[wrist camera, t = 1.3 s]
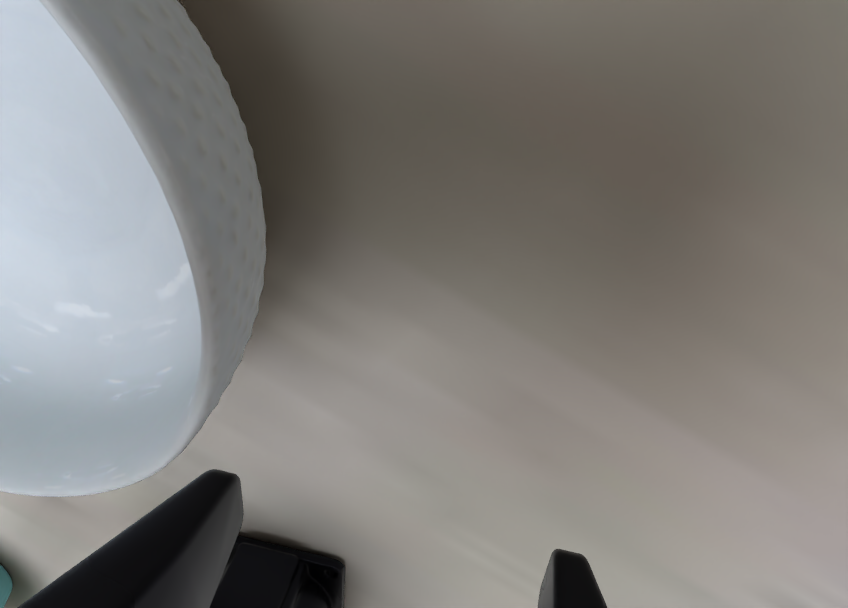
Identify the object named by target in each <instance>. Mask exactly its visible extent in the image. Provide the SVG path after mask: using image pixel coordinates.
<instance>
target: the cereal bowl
mask: <svg viewBox="0 0 848 608" xmlns="http://www.w3.org/2000/svg"><path fill="white" fill-rule="evenodd" d="M265 236H266V224H265V220H264V211H263V203H262V189H261V186H260V183H259V180H258V175H257V166H256V163H255V160H254V156H253V149H252V147H251V145H250V143H249V141H248V137H247V131H246V126H245V124H244V123H243V121H242V120H241V118H240V114H239V109H238V106H237V105H236V103H235V101H234V99H233V98H232V95H231V91H230V87H229V83H228V82H227V81H226V80H225V78H224V77H223V75H222V72H221V69H220V66H219V65H218V64H217V63H216V61H215V60H214V59H213V56H212V53H211V50H210V47H209V46H208V45H207V44H206V43H205V41H204V40H203V39H202V37H201V34H200V33H199V31H198V29H197V27H196V26H195V25H194V24H193V23H192V22H191V21H190V19H189V17H188V15H187V13H186V10H185V9H184V7H183V6H182V5H181V4H180V3H179V2H178V0H0V491H1V492H7V493H13V494H20V495H28V496H44V497H69V496H85V495H91V494H98V493H103V492H107V491H111V490H116V489H119V488H123V487H126V486H129V485H131V484H134V483H136V482H139V481H142V480H144V479H146V478H148V477H149V476H151V475H153V474H155V473H157V472H158V471H160V470H161V469H163V468H164V467H165V466H166V465H168V464H169V463H170V462H171V461H172V460H174V459H175V458H176V457H177V456H178V455H179V454H180V453H181V452H182V451H183V450H184V449H185V448H186V447H187V445H188V444H189V443H190V441H191V440H192V439H193V438H194V436H195V435H196V434H197V433H198V431H199V430H200V429H201V428H202V426H203V424H204V422H205V421H206V419H207V417H208V416H209V414H210V413H211V412H212V410H213V409H214V408H215V407H216V406H217V405H218V403H219V400H220V397H221V395H222V393H223V392H224V390H225V389H226V388H227V386H228V385H229V383H230V381H231V379H232V376H233V373H234V371H235V370H236V368H237V367H238V365H239V364H240V362H241V361H242V357H243V353H244V348H245V346H246V344H247V342H248V341H249V339H250V337H251V335H252V326H253V323H254V320H255V318H256V316H257V314H258V312H259V298H260V295H261V292H262V289H263V286H264V267H265V262H266V253H267V252H266V244H265Z"/></svg>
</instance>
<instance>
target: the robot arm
mask: <svg viewBox="0 0 848 608" xmlns="http://www.w3.org/2000/svg"><path fill="white" fill-rule="evenodd" d="M243 514H244V513H243V501H242V492H241V483H240V478H239V477H238V476H237V475H236V474H233V473H229V472H225V471H220V470H215V469H212V470H209V471H206V472H205V473H203V474H202V475H200V476H199V477H198V478H196V479H195V480H194V481H192V482H191V483H189V484H188V485H187V486H185V487H184V488H182V489H181V490H180V491H178V492H177V493H176V494H174V495H173V496H171V497H170V498H169V499H167V500H166V501H164V502H163V503H162V504H160V505H159V506H157V507H156V508H155V509H153V510H152V511H151V512H149V513H148V514H146V515H145V516H144V517H142V518H141V519H139V520H138V521H137V522H135V523H134V524H133V525H131V526H130V527H128V528H127V529H126V530H124V531H123V532H121V533H120V534H119V535H117V536H116V537H115V538H113V539H112V540H110V541H109V542H108V543H106V544H105V545H103V546H102V547H101V548H99V549H98V550H96V551H95V552H94V553H92V554H91V555H90V556H88V557H87V558H85V559H84V560H83V561H81V562H80V563H78V564H77V565H76V566H74V567H73V568H72V569H70V570H69V571H67V572H66V573H65V574H63V575H62V576H60V577H59V578H58V579H56V580H55V581H54V582H52V583H51V584H49V585H48V586H47V587H45V588H44V589H42V590H41V591H40V592H38V593H37V594H35V595H34V596H33V597H31V598H30V599H29V600H27V601H26V602H24V603H23V604H22V605H20V606H19V607H17V608H344V583H345V567H344V565H343V564H342V563H341V562H340V561H338V560H335V559H332V558H328V557H324V556H320V555H316V554H311V553H307V552H303V551H299V550H295V549H291V548H287V547H283V546H279V545H275V544H270V543H266V542H262V541H258V540H254V539H250V538H246V537H242V536H238V533H239V531H240V528H241V525H242V521H243ZM538 608H607V606H606V603H605V601H604V599H603V596H602V594H601V591H600V589H599V587H598V584H597V582H596V580H595V577H594V575H593V572H592V570H591V568H590V565H589V563H588V561H587V559H586V558H585V557H584V556H583V555H582V554H579V553H574V552H570V551H566V550H561V549H556V550H554V551H553V552H552V554H551V557H550V560H549V563H548V566H547V569H546V573H545V576H544V579H543V582H542V585H541V589H540V595H539V602H538Z"/></svg>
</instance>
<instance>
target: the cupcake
mask: <svg viewBox="0 0 848 608" xmlns="http://www.w3.org/2000/svg"><path fill="white" fill-rule="evenodd" d="M12 587H13V585H12V580H11V578H10V576H9V574H8V573H7V571H6V570H5V569H4V568H3V567H2V566H1V565H0V608H4V606H5V604H6V601H7V599H8V597H9V595H10V593H11V591H12Z"/></svg>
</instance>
